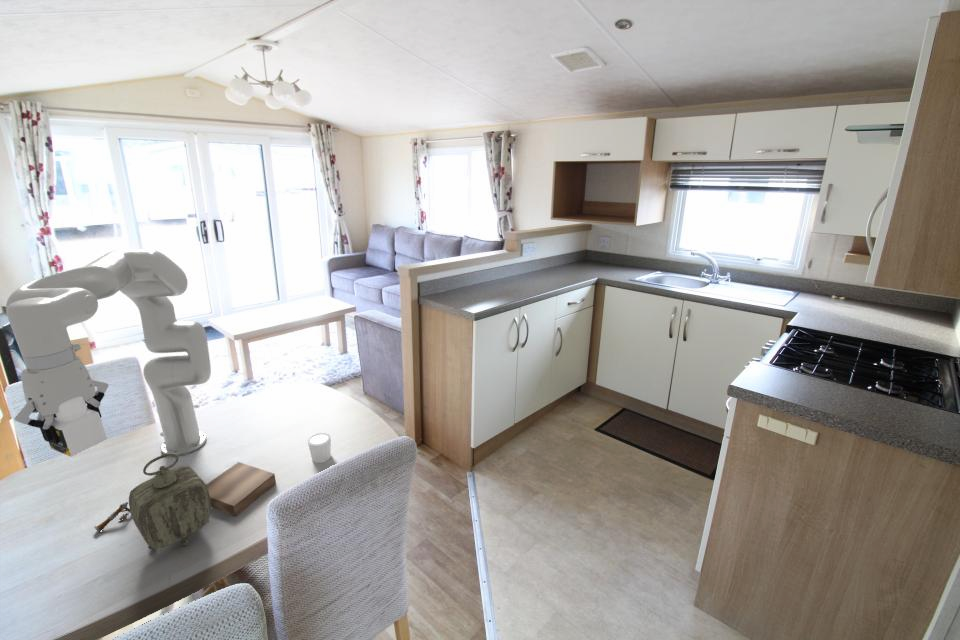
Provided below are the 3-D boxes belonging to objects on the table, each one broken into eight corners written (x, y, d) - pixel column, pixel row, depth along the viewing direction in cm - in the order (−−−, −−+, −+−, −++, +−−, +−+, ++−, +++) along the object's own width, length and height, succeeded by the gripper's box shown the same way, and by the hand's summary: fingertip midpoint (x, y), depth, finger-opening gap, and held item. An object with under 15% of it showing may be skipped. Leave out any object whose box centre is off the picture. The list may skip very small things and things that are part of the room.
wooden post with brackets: (138, 510, 119) (126, 502, 116) (108, 537, 115) (95, 529, 112) (136, 507, 120) (124, 499, 117) (106, 534, 116) (93, 526, 113)
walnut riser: (198, 502, 124) (195, 491, 122) (240, 471, 136) (238, 461, 135) (235, 516, 119) (233, 506, 118) (276, 483, 131) (274, 473, 130)
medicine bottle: (50, 449, 96) (32, 400, 92) (88, 431, 103) (72, 385, 98) (70, 457, 94) (52, 408, 90) (108, 439, 100) (93, 392, 96)
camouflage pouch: (206, 515, 119) (187, 436, 111) (220, 533, 114) (201, 450, 105) (141, 549, 108) (115, 464, 100) (154, 570, 103) (127, 482, 95)
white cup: (325, 465, 139) (323, 446, 137) (305, 462, 141) (303, 443, 138) (336, 452, 146) (334, 434, 143) (317, 449, 147) (315, 431, 145)
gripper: (86, 340, 100) (108, 408, 106) (-18, 372, 85) (14, 450, 91) (108, 345, 97) (129, 415, 103) (5, 379, 82) (36, 459, 88)
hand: (75, 431), depth 97 cm, fingers closed on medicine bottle, 7 cm apart
